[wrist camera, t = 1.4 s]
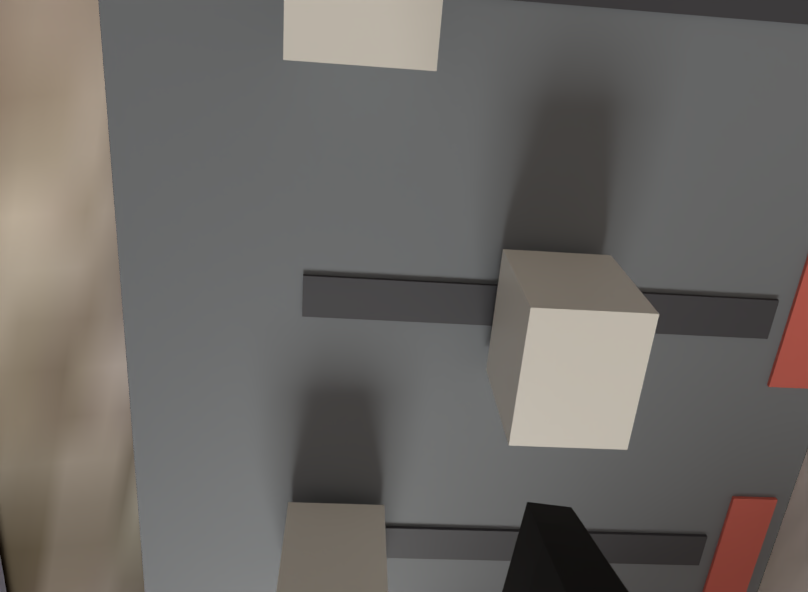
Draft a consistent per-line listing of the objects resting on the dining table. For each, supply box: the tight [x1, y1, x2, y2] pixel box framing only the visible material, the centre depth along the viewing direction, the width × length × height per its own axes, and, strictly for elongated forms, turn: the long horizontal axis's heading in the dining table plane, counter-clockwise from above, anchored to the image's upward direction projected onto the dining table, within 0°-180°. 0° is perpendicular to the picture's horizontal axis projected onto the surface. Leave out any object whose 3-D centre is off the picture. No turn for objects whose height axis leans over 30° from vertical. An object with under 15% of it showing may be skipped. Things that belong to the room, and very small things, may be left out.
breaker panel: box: [98, 0, 808, 592], centre depth 18 cm, size 17×22×1 cm
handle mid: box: [486, 249, 659, 450], centre depth 16 cm, size 2×3×3 cm
